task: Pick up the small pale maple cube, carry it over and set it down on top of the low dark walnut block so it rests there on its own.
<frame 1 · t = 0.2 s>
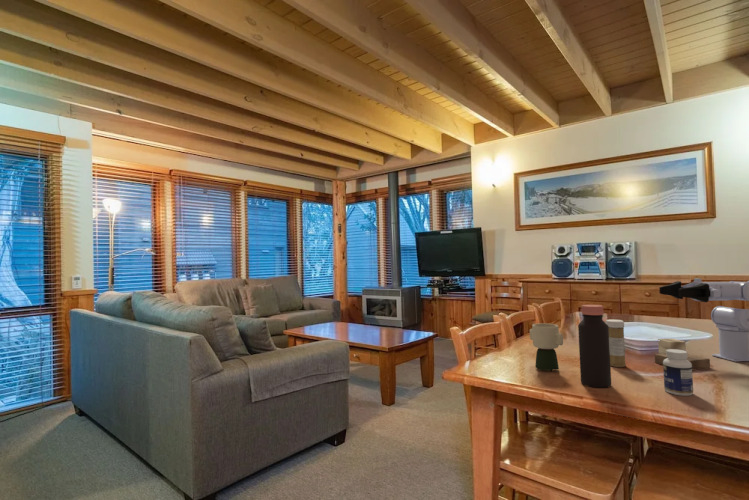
hand: (669, 291, 120), 21 cm above the table, tool horizontal, fingers open, 7 cm apart
maple cube: (672, 355, 125), on the table
sprinkles bottle: (617, 366, 116), on the table
character mug: (547, 370, 113), on the table
vinegar: (595, 384, 99), on the table
walnut block: (681, 366, 114), on the table
pill bottle: (678, 393, 92), on the table
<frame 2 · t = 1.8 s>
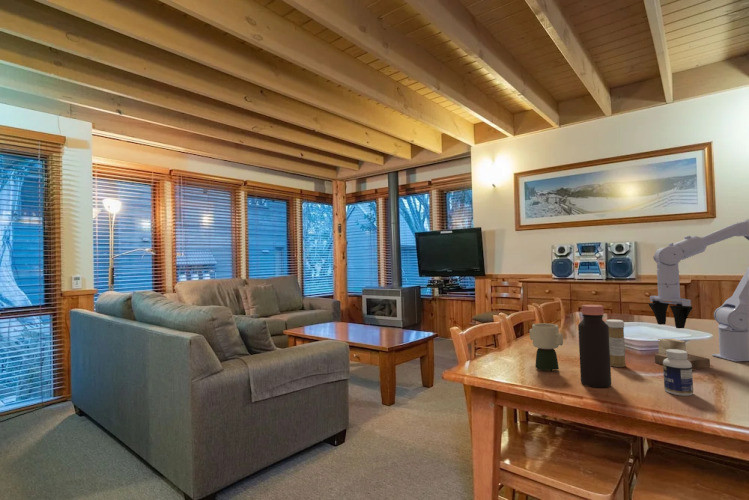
hand: (670, 326, 126), 9 cm above the table, tool pointing down, fingers open, 7 cm apart
nothing on the table moved.
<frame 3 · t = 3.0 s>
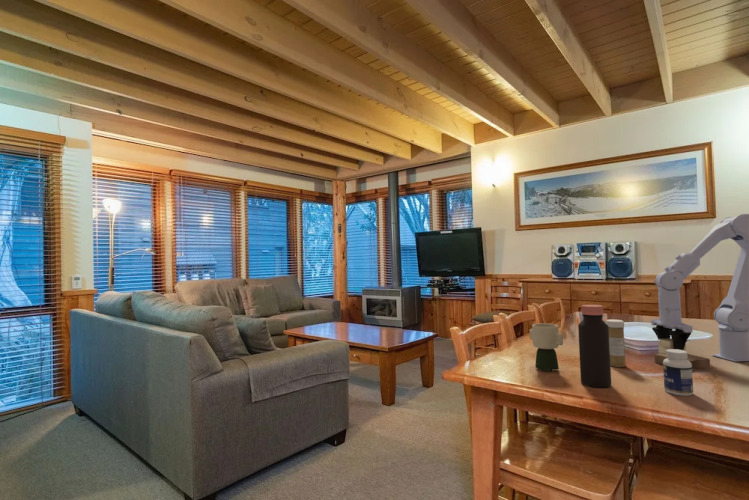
hand: (672, 351, 125), 1 cm above the table, tool pointing down, fingers closed on maple cube, 5 cm apart
maple cube: (672, 355, 125), on the table, touching gripper
everything else where it was.
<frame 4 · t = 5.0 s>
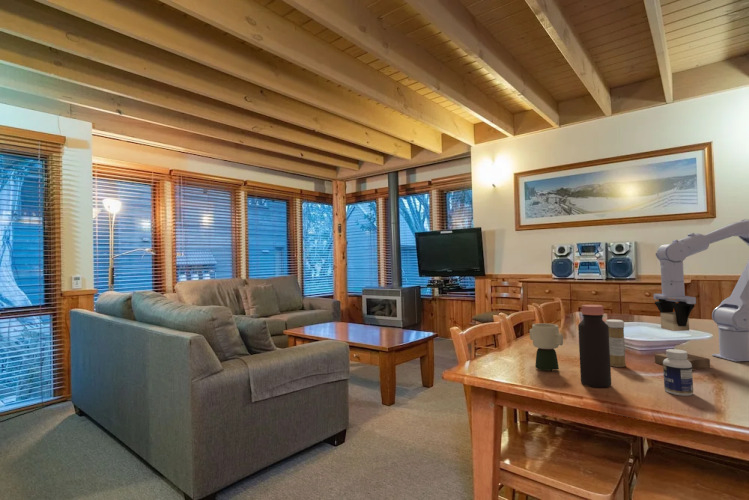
hand: (674, 324, 122), 10 cm above the table, tool pointing down, fingers closed on maple cube, 5 cm apart
maple cube: (675, 329, 122), point 9 cm above the table, touching gripper
everything else where it was.
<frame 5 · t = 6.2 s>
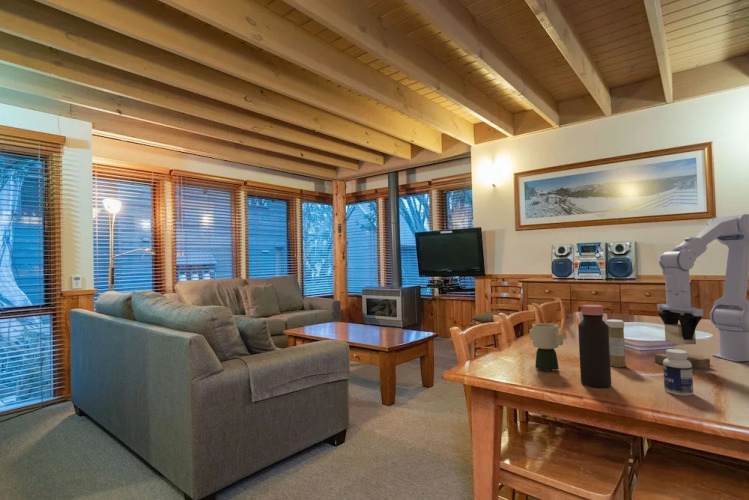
hand: (680, 337, 114), 8 cm above the table, tool pointing down, fingers closed on maple cube, 5 cm apart
maple cube: (680, 342, 114), point 7 cm above the table, touching gripper
everything else where it was.
when the fingers open (5 cm above the table, at t = 7.3 s): maple cube drops 1 cm, point 3 cm above the table.
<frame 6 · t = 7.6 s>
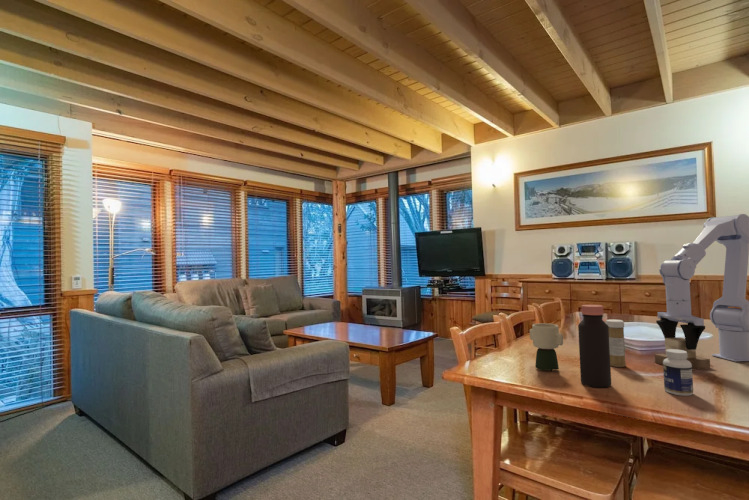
hand: (680, 346, 114), 5 cm above the table, tool pointing down, fingers open, 7 cm apart
maple cube: (680, 356, 114), point 3 cm above the table
everything else where it was.
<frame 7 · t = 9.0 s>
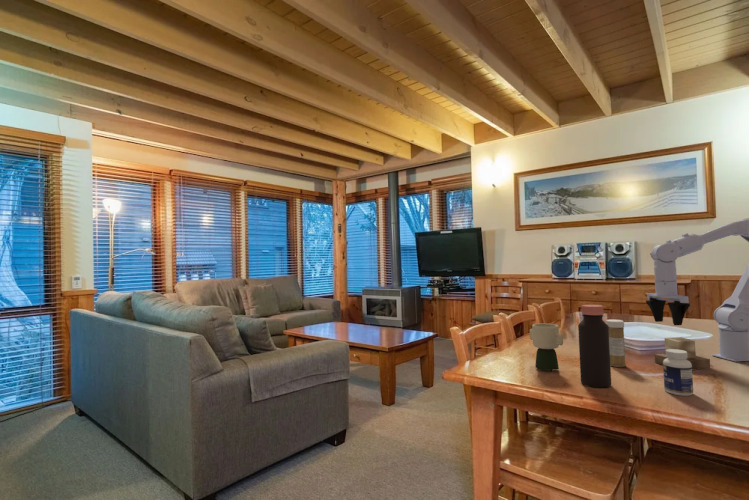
hand: (668, 323, 125), 10 cm above the table, tool pointing down, fingers open, 7 cm apart
nothing on the table moved.
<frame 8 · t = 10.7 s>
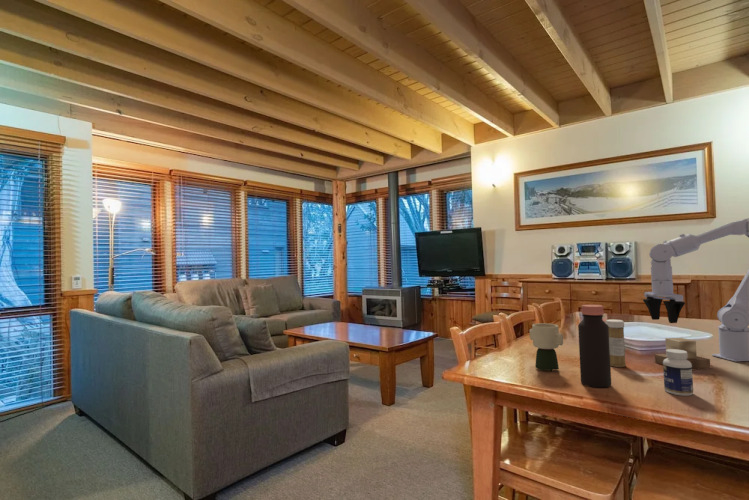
hand: (664, 321, 130), 10 cm above the table, tool pointing down, fingers open, 7 cm apart
nothing on the table moved.
at the end: maple cube inside the target area on the walnut block (0.3 cm from its centre), point 3.0 cm above the walnut block's base; maple cube tilted 0°; the gripper is holding nothing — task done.
